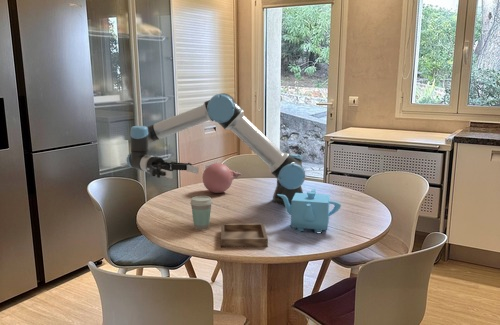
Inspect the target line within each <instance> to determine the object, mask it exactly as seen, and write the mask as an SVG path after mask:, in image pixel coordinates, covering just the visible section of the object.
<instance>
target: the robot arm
mask: <svg viewBox="0 0 500 325" xmlns="http://www.w3.org/2000/svg"><path fill="white" fill-rule="evenodd" d="M208 121H210V122H215V123H218V124H219V125H220V126H221V128H223V129H224V130H229V131H231V132H232V133H233V134H235V136H237V138H239V139H240V140H241V142H243V144H245V145H246V146H247V147H248V148H249V149H250V150H251V151H253V153H254V154H255V155H256V156H258V157H259V158H260V159H261V160H262V161H263V163H265V164H266V165H267V166H268V167H269V172H270V173H271V175H273V176H274V177H275V179H276V187H275V190H274V192H273V195H272V202H273V203H275V204H277V205H281V206H285V204H284V201H283V199H282V198H281V197H280V196H278V195H277V194H282V195H285V196H286V197H287V198H288V201H289V204H290V205H291V202H292V199H293V197H294V195H295V193H304V192H303V191H304V190H303V187H302V185H303V184H304V182H305V180H306V171H305V169H304V168H303V156H302V155H301V154H297V153H295V154H293V153H292V154H291V153H289V152H283V151H282V150H281V149H280V148H279V147H278V146H276V144H274V143H273V142H272V141H271V140H270V139H269V138H268V137H267V136H266V135H265V134H264V133H263V132H262V131H261V130H260V129H258V127H257V126H256V125H254V123H252V121H250V120H249V119H248V118H247V116H245V112H244V109H243V108H242V107H241V106H240V105H239V104H238V103H237V102H236V101H235V98H234V97H233V96H232V95H230V94H229V93H226V92H225V93H222V92H221V93H218V94H217V93H216V94H215V95H213V96H212V97H211V98H210V99H208V100H206V101H204V102H203V104H202V105H199V106H196V107H195V108H192V109H189V110H187V111H184V112H181V113H179V114H177V115H174V116H171V117H169V118H167V119H166V118H165V119H164V120H160V121H158V122H156V123H153V124H151V125H148V126H146V125H134V126H131V128H130V134H129V135H130V152H129V153H128V154H127V157H126V164H127V166H129V167H130V168H132V169H134V170H139V171H142V172H145V173H147V174H150V175H151V177H156V178H159V179H160V178H161V177H164V178H167V179H174V178H173V172H174V171H186V172H189V173H193V174H199V166H195V165H192V163H190V162H177V161H170V162H169V161H165V160H164V159H163V158H162V157H161V156H155V155H152V154H151V155H150V154H149V144H151V143H153V142H156V141H159V140H162V139H164V138H166V137H169V136H172V135H174V134H177V133H179V132H183V131H185V130H188V129H189V128H193V127H195V126H198V125H200V124H203V123H205V122H208Z"/></svg>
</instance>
